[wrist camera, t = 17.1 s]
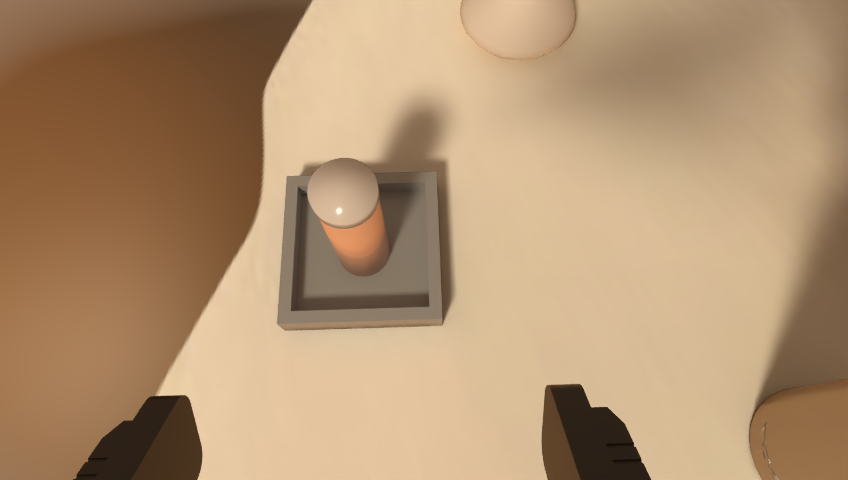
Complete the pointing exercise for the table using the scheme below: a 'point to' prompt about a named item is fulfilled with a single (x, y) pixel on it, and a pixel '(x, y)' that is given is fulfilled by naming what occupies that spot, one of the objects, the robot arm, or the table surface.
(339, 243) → the shaker
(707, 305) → the table surface
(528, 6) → the flower in vase
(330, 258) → the tray
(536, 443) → the table surface
